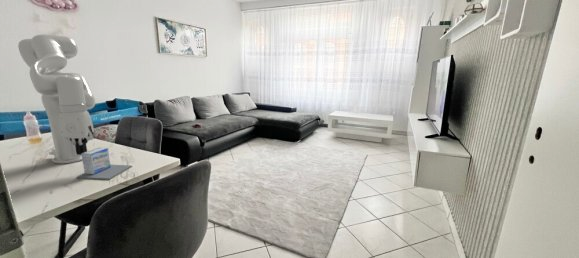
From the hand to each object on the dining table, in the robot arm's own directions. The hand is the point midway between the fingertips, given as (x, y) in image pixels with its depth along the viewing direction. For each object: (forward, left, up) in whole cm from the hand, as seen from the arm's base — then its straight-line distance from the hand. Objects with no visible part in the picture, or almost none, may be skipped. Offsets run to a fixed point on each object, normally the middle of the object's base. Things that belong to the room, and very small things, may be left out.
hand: (82, 153), depth 99 cm
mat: (+9, 0, -8) cm, 12 cm away
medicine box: (+5, 0, -7) cm, 9 cm away
